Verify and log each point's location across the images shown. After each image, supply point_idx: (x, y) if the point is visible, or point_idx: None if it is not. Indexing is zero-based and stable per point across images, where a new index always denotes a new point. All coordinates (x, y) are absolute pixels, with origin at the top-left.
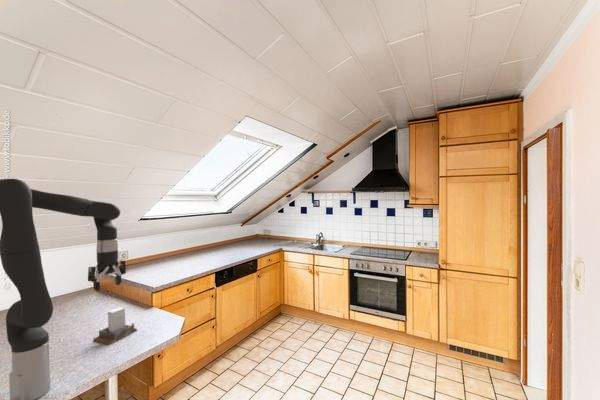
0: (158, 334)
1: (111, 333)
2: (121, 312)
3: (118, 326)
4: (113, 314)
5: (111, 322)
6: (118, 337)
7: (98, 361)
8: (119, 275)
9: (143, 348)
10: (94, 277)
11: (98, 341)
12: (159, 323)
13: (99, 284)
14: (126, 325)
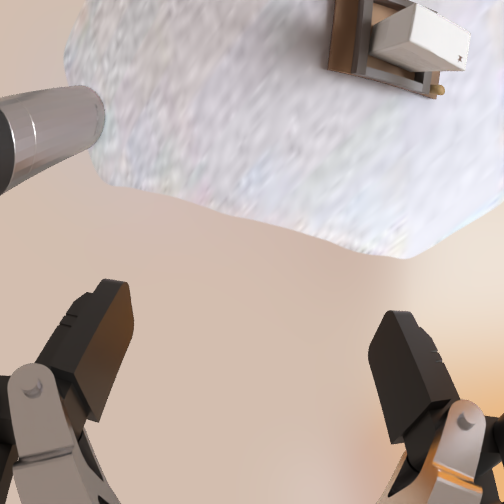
0: (413, 201)
1: (362, 53)
2: (442, 63)
3: (399, 59)
4: (409, 44)
5: (389, 38)
6: (367, 77)
7: (228, 133)
8: (403, 459)
9: (327, 218)
10: (10, 466)
11: (334, 12)
12: (479, 150)
13: (105, 391)
14: None
